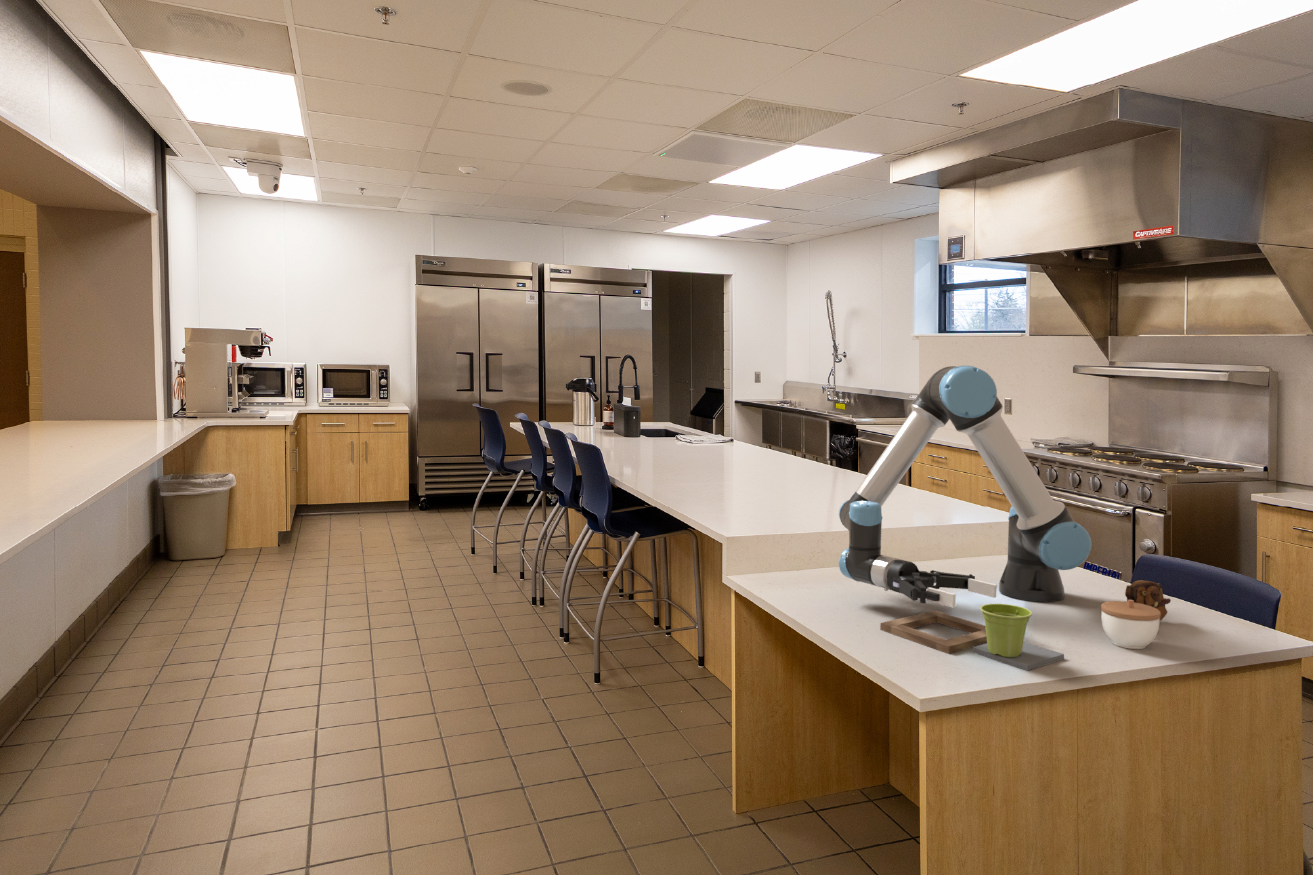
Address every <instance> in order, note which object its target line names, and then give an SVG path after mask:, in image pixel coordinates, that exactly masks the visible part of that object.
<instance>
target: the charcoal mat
mask: <svg viewBox="0 0 1313 875" xmlns="http://www.w3.org/2000/svg"><path fill="white" fill-rule="evenodd" d="M972 653H974V654H978V655H981V656H984V657H985V658H989V659H992V660H995V661H997V662H1001V663H1005V664H1007V665H1010V666H1012V667H1016V668H1019V669H1022V670H1025V671H1031V670H1033V669H1036V668H1039V667H1040V668H1041V667H1042V666H1045V665H1046V666H1047V665H1049V664H1052V663H1056V662H1058V661H1059V662H1060V661H1061V660H1064V659H1065V654H1064V653H1062V652H1058V651H1056V650H1053V649H1050V648H1046V647H1042V646H1039V645H1036V644H1032V643H1029V642H1026V641H1024V642H1023V647H1022V653H1021V655H1019V656H1017V657H1003V656H1001V655H999V654H992V653H990V652H989V651H988V646H987V643H985V644H982V645H978V646H975V647H972Z"/></svg>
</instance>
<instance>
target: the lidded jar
mask: <svg viewBox="0 0 1313 875" xmlns="http://www.w3.org/2000/svg"><path fill="white" fill-rule="evenodd" d="M1100 610H1101V614H1100V615H1101V617H1100V618H1101V624H1102V629H1103V631H1104V633H1105V634H1106V637H1108V639H1109V640H1111V643H1112V644H1113V645H1115V646H1118V647H1120V648H1124V649H1130V650H1144V649H1145V648H1146V646H1148V645H1150V644H1151V643H1152V642H1153V641H1154V640H1155V639H1156V637H1157V635H1158V632H1159V628H1160V622H1161V621H1160V616H1161V612H1160V611H1159V610H1158V609H1156V608H1154V607H1151V606H1148V605H1144V604H1140V603H1134V600H1128V602H1127V600H1126V601H1124V600H1111V601H1105V602H1102V603H1101V605H1100Z"/></svg>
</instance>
